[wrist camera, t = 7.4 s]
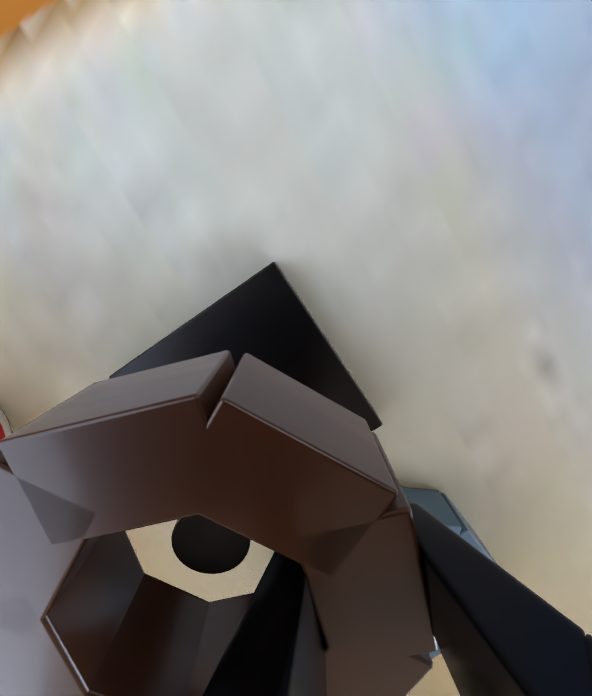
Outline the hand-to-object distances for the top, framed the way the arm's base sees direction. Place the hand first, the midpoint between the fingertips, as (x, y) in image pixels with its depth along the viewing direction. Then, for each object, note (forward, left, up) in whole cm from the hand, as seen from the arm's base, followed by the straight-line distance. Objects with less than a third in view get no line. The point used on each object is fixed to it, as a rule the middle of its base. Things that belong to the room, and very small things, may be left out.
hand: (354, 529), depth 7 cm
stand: (-3, +1, -10) cm, 10 cm away
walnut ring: (-3, +1, -1) cm, 3 cm away
